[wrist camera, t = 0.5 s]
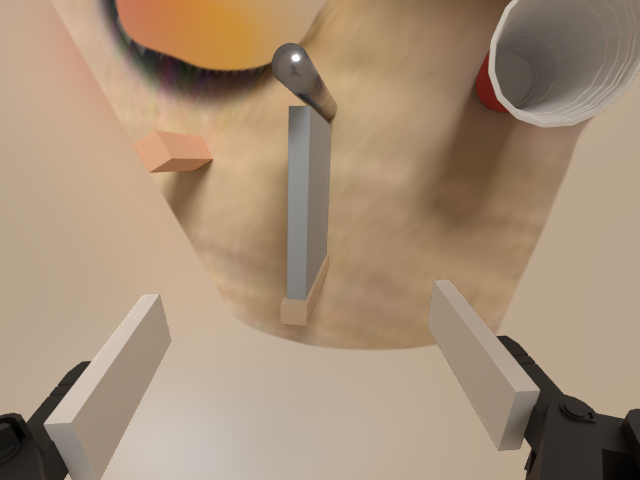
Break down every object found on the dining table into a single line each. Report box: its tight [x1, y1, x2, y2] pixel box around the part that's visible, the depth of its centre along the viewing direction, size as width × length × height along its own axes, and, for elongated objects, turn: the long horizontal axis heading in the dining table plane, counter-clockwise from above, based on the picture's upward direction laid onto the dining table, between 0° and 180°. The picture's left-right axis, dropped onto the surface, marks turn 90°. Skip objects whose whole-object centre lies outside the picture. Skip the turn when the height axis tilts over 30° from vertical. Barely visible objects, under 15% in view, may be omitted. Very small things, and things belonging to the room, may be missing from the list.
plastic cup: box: [476, 0, 640, 128], centre depth 29 cm, size 11×11×12 cm
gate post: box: [272, 43, 337, 119], centre depth 29 cm, size 2×2×18 cm
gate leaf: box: [280, 106, 332, 326], centre depth 32 cm, size 17×2×15 cm, turn 178°
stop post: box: [133, 131, 213, 173], centre depth 37 cm, size 3×3×9 cm
